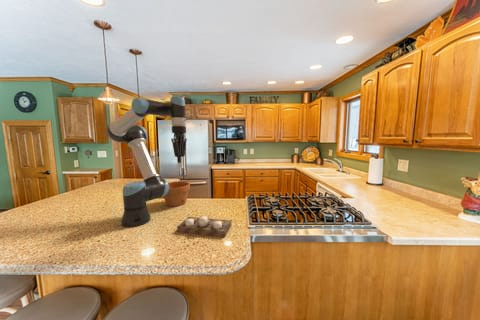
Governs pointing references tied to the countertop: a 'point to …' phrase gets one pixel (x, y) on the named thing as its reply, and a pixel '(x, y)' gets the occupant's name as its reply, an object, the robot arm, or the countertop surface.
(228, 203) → the countertop surface
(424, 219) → the countertop surface
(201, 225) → the button
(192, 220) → the button
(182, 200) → the flower pot
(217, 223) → the button
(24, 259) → the countertop surface
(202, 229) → the board
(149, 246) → the countertop surface
